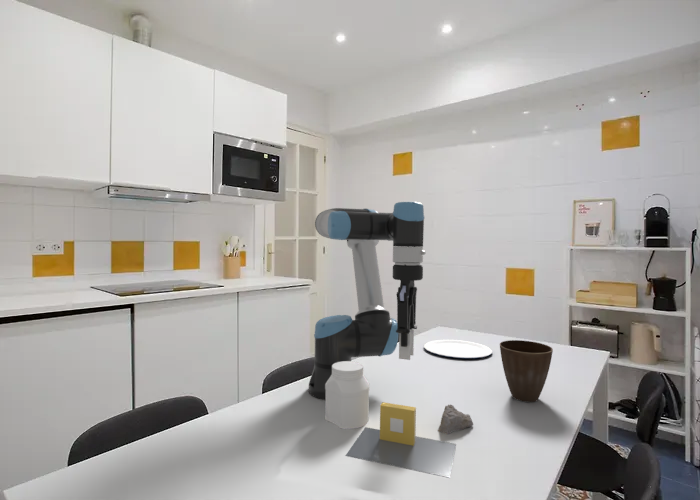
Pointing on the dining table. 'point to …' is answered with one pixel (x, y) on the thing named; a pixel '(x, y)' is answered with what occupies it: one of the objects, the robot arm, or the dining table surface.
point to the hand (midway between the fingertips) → (406, 356)
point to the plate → (458, 349)
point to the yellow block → (398, 423)
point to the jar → (347, 396)
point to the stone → (454, 420)
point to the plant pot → (525, 367)
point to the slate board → (405, 453)
